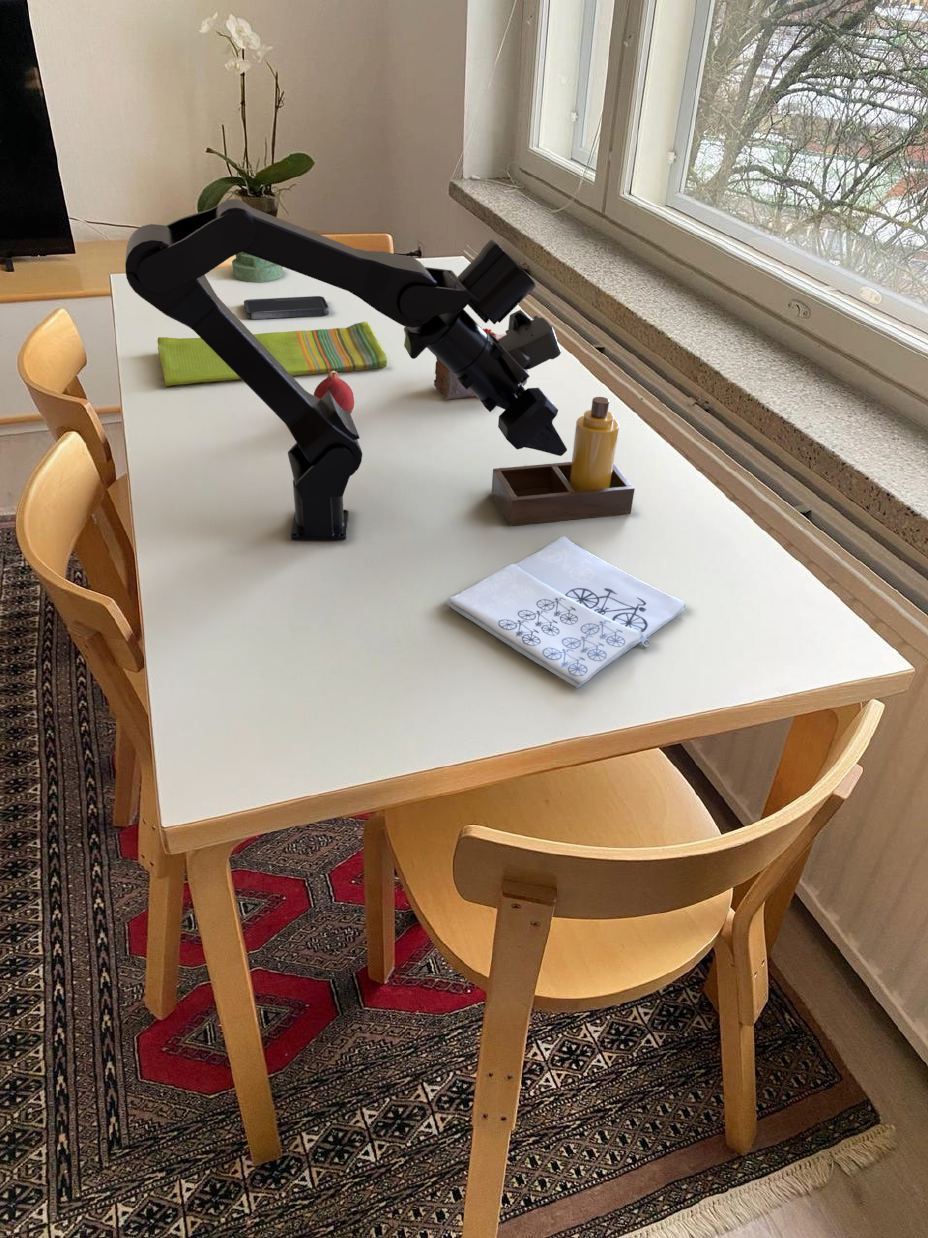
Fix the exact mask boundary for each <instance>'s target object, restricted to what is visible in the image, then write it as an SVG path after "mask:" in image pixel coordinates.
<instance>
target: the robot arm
mask: <svg viewBox="0 0 928 1238" xmlns="http://www.w3.org/2000/svg"><path fill="white" fill-rule="evenodd" d="M240 252H244V253H247V254H250V255H252V256H255V257H258V258H261V259H263V260H266V261H269V262H271V263H274V264H277V265H279V266H282V268H286V269H287V270H290V271H293V272H295V273H298V274H301V275H303V276H305V277H309V278H311V279H315V280H317V281H320V282H323V283H325V284H328V285H331V286H333V287H336V288H338V289H341V290H344V291H346V292H349V293H350V294H351V295H354V296H355V297H357V298H359V299H360V300H362V301H363V302H364V303H366V304H367V305H369V306H370V307H371V308H372V309H374V310H376V311H377V312H379V313H380V314H382V315H383V316H385V317H387V318H389V319H390V320H392V321H394V322H395V323H397V324H399V325H401V326H403V327H404V328H403V331H404V344H403V347H404V348H405V350H406V352H407V354H408V355H409V358H411V359H412V360H414V359H415V360H416V359H417V358H418V357H419V356H420V355H421V354H422V353H423V352H424V351H425V349H426V348H427V349H428V351H430V352H431V353H432V355H434V356H435V358H436V357H437V358H438V359H439V360H440V361H441V362H442V363H443V364H444V365H445V366H446V367H447V368H448V369H449V370H450V371H451V372H452V373H453V374H454V375H455V376H456V377H457V379H458V380H459V382H460V383H461V384H462V385H463V386H464V387H465V388H466V389H468V388H469V389H470V390H471V391H472V392H473V393H474V394H475V395H476V396H477V398H478V399H479V401H480V402H481V404H482V405H483V407H484V408H485V409H486V410H487V411H488V412H489V413H491V412H492V411H493V410H494V409H495V408H496V407H498V408H500V409H502V410H504V411H502V412H501V413H500V414H499V415H498V422H497V423H498V424H497V428H498V429H499V431H500V432H501V434H502V435H503V437H504V438H505V440H506V441H507V442H508V443H509V444H510V445H511V446H513V447H514V449H516V450H517V451H518V450H522V449H524V448H525V449H530V450H536V451H540V452H544V453H547V454H550V455H555V456H559V457H562V456H563V455H565V453H567V451H568V448H567V446H566V445H565V442H564V441H563V440H562V438H561V436H560V434H559V433H558V431H557V430H556V427H555V426H554V424H553V421H554V419H555V418H556V417H557V416H558V413H559V409H558V407H556V405H555V404H554V402H552V400H551V399H550V398H549V397H548V396H547V395H546V394H545V392H543V391H542V389H541V388H540V387H527V388H526V389H525V386H522V383H524V382H525V381H526V380H527V381H528V379H529V378H530V377H531V376H530V374H529V372H528V373H527V372H526V371H525V370H527V369H528V370H531V369H533V368H535V367H537V366H540V365H541V364H544V363H546V362H547V361H549V360H555V359H557V358H558V357H559V356H560V355H561V354H562V350H561V348H560V345H559V342H558V338H557V336H556V333H555V330H554V327H553V326H552V325H551V324H550V323H549V322H548V321H547V320H546V319H545V318H544V317H538V315H536V314H535V315H534V316H533V319H532V318H531V317H530V316H529V315H527V314H526V312H524V311H523V310H521V309H518V310H517V311H515V312H513V313H511V312H512V311H513V310H514V309H516V307H517V306H518V305H519V304H520V303H521V302H522V301H523V300H524V299H525V298H526V297H527V296H528V295H529V294H530V293H531V292H532V291H533V290H534V289H535V288H536V287H537V284H536V282H535V281H534V280H533V279H532V277H530V275H529V273H527V272H526V271H525V270H524V268H523V267H522V266H521V265H520V264H518V262H517V261H515V260H514V259H513V258H512V257H511V256H510V255H509V254H508V253H506V251H505V250H503V248H502V247H501V246H500V245H499V244H498V242H496V241H495V240H494V239H490V240H489V241H488V242H487V243H486V244H485V245H484V246H483V247H482V249H481V250H480V252H479V253H478V255H477V256H475V258H474V259H472V261H471V262H470V263H469V264H468V265H467V266H466V267H465V268H464V269H463V270H462V271H461V272H460V274H458V275H457V274H456V273H455V272H454V271H453V270H452V269H444V268H437V267H428V266H424V264H422V262H421V261H419V260H418V259H416V258H415V257H412V256H407V255H404V254H398V253H392V252H389V251H382V250H378V251H377V250H365V249H359V248H355V247H352V246H351V245H347V244H344V243H342V242H339V241H337V240H334V239H333V238H329V237H327V236H325V235H322V234H319V233H317V232H314V231H313V230H310V229H307V228H304V227H301V226H299V225H297V224H294V223H292V222H289V221H287V220H284V219H281V218H279V217H277V216H274V215H272V214H269V213H267V212H264V211H261V210H259V209H257V208H255V207H254V208H253V207H252V206H251V205H249V204H248V203H246V202H245V201H243V200H240V199H236V198H232V199H226V200H224V201H222V202H221V203H220V204H218V205H215V206H214V207H211V208H209V209H206V210H203V211H199V212H196V213H193V214H190V215H187V216H183V217H181V218H179V219H177V220H174V221H172V222H169V223H168V224H166V225H164V224H154V223H150V224H145V225H141V226H140V227H139V228H137V229H135V230H134V231H133V232H132V234H131V235H130V237H129V238H128V242H127V245H126V251H125V263H124V264H125V265H124V266H125V276H126V280H127V283H128V285H129V286H130V288H131V289H132V290H133V292H134V293H135V294H136V295H138V296H139V297H140V298H141V299H143V300H144V301H146V302H147V303H149V304H150V305H151V306H152V307H154V308H156V310H158V311H159V312H161V313H162V314H164V315H165V316H167V317H169V318H170V319H172V320H174V321H176V322H178V323H179V324H182V325H184V326H186V327H187V328H189V329H191V330H192V331H193V332H194V333H195V334H196V335H197V336H198V337H199V338H201V339H202V340H203V341H204V342H205V343H206V344H207V345H208V346H209V347H210V348H211V349H212V350H213V351H214V352H215V353H216V354H217V355H218V356H219V357H220V358H221V359H222V360H223V361H224V362H225V363H226V364H227V365H228V366H229V367H230V368H231V369H232V370H233V371H234V372H235V373H236V374H237V375H238V376H239V377H240V378H241V379H240V380H241V381H242V382H243V383H244V384H245V385H247V386H248V387H249V389H250V390H252V392H254V394H256V396H257V397H258V398H259V399H260V400H261V401H262V402H263V403H264V404H265V405H266V406H267V407H268V408H269V409H270V410H271V411H272V412H273V413H274V414H275V415H276V416H277V417H278V418H279V419H280V420H281V422H283V423H284V424H285V426H286V428H287V429H288V430H289V432H290V434H291V436H292V437H293V439H294V441H295V443H294V445H292V447H291V448H290V449H289V450H288V451H287V458H288V462H289V465H290V470H291V474H292V478H293V480H292V488H293V489H292V490H293V501H294V514H293V520H292V526H291V530H290V539H291V540H292V541H345V540H347V535H348V525H349V515H350V514H349V513H350V512H349V510H348V509H344V493H345V491H346V489H347V485H348V483H349V479H350V477H351V476H353V475H354V474H355V473H357V471H358V470H359V468H360V466H361V464H362V460H363V452H362V448H361V445H360V443H359V441H358V440H360V434H359V432H358V430H357V427H356V424H355V421H354V419H353V417H352V414H351V413H350V412H348V411H346V410H344V409H342V408H341V407H340V406H339V405H338V404H337V402H336V401H335V399H334V398H333V396H332V394H331V393H330V392H329V391H327V392H326V393H325V395H324V396H323V397H322V398H321V399H319V398H317V397H315V396H314V394H311V393H310V392H308V391H307V390H305V388H304V387H302V385H301V384H300V383H299V382H298V381H297V380H296V379H295V378H294V376H291V375H290V374H289V372H288V371H287V370H286V369H285V368H284V367H283V366H282V365H281V364H280V363H279V362H278V361H277V360H276V359H275V358H274V356H273V355H272V354H271V353H270V352H269V351H268V350H267V349H266V348H265V347H264V346H263V345H262V344H261V343H260V341H259V340H258V339H257V338H256V337H255V336H254V335H253V334H254V333H252V332H251V331H250V330H249V329H248V328H247V327H246V325H245V324H244V323H243V322H242V320H240V319H239V318H238V317H237V316H236V315H235V313H234V312H233V311H232V310H231V309H230V308H229V307H228V306H227V304H225V303H224V302H223V301H222V299H220V297H219V296H218V295H217V294H216V291H215V290H214V289H213V287H212V285H211V283H210V282H209V280H208V278H207V276H206V275H207V274H208V273H210V272H211V271H212V270H214V269H216V268H217V267H219V266H220V265H222V264H223V263H224V262H226V261H228V260H229V259H230V258H232V257H234V256H236V254H238V253H240ZM467 306H468V307H469V308H470V309H471V310H472V311H473V312H474V314H476V315H477V317H479V318H480V319H481V321H483V322H484V323H485V324H488V322H489V321H490V322H491V323H492V324H493V325H496V324H497V322H498V323H499V324H500V323H501V322H503V320H504V319H506V317H507V316H508V315H509V314H510V313H511V314H510V315H509V318H508V325H507V326H508V327H507V328H508V329H506V330H505V331H504V332H505V334H506V335H505V336H503V337H502V338H500V339H498V340H497V339H496V337H495V336H494V335H493V334H492V333H490V334H488V333H487V332H485V331H484V330H483V327H482V326H480V324H479V323H478V322H477V321H476V320H474V318H473V317H472V316H471V315H470V314H469V313H468V312H467V311H466V310H465V309H466V307H467ZM476 396H475V397H476Z"/></svg>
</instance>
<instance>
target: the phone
mask: <svg viewBox="0 0 928 1238" xmlns="http://www.w3.org/2000/svg"><path fill="white" fill-rule="evenodd" d="M243 307H244V308H243V309H244V312H245V314H246V318H247V319H250V320H261V319H282V318H299V317H316V316H318V317H319V316H327V315H329V314H330V310H329V309H330V307H329V305H328V303H327V301H326V299H325V297H324V296H321V295H310V296H293V297H292V296H291V297H289V296H288V297H273V298H272V297H271V298H270V297H269V298H251V299H245V300H243Z"/></svg>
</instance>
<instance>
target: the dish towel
mask: <svg viewBox="0 0 928 1238" xmlns="http://www.w3.org/2000/svg"><path fill="white" fill-rule="evenodd" d="M252 334H253V335H254V336H255V337H256V338H257V339H258V340H259V341H260V343H261V344H262V345H263V346H264V347H265V348H266V349H267V350H268V351H269V352H270V353H271V354H272V355H273V356H274V358H275V359H276V360H277V361H278V362H279V363H280V364H281V365H282V366H283V367H284V368H285V369H286V370H287V371H288V372H289V374H290V375H291V376H292V377H294V376H304V375H315V374H316V375H317V374H319V375H320V374H329V373H330V372H331V371H336V372H337V373H339V372H350V371H351V372H352V371H360V370H361V371H362V370H372V369H373V370H374V369H377V368H386V367H388V357H387V354H386V352H385V350H384V349H383V347H382V345H381V343H380V342H379V340H378V338H377V336H376V334H375V331H374V330H373V328H372V326H371V325H370V324H369V322H368V321H361V322H356V323H354V324H351V325H349V326H347V327H335V328H323V329H322V328H320V329H309V330H291V331H275V332H273V331H272V332H263V333H252ZM156 341H157V342H156V343H157V351H158V356H159V361H160V365H161V371H162V376H163V381H164V387H171V386H177V385H187V384H188V385H189V384H199V383H208V382H210V383H211V382H222V381H231V380H232V381H233V380H242V379H241V378H240V377H239V376H238V375H237V374H236V373H235V372H234V371H233V370H232V369H231V368H230V367H229V366H228V365H227V364H226V363H225V362H224V361H223V360H222V359H221V358H220V357H219V356H218V355H217V354H216V353H215V352H214V351H213V350H212V349H211V348H210V347H209V346H208V345H207V344H206V343H205V342H204V341H203V340H202V339H201V337H186V338H185V337H183V338H182V337H181V338H177V337H167V336H165V337H162V336H159V337H157V340H156Z"/></svg>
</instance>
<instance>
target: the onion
mask: <svg viewBox="0 0 928 1238" xmlns="http://www.w3.org/2000/svg"><path fill="white" fill-rule="evenodd" d="M327 391H329V392H330V393H331V394H332V396H333V398H334V399H335V401H336V402H337V404H338V405H339V406H340V407H341V408H342V409H344V410H346V411H348V412H350V414H351V413H352V412H353V410H354V408H355V397H354V392H353V389H352V388H351V386H350V385H349V384H348V383H347V382H346V381H345V380H344V379H341V378H340V377H339V372H336V371H331V372H329V373H328V375H327V377H326V378H325V379H323V380H322V381H320V383H319V384H317V386H316V387H315V390H314V392H313V396H315V397H317V398H319V399H321V398H322V397H323V396H324V395H325V393H326V392H327Z"/></svg>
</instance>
